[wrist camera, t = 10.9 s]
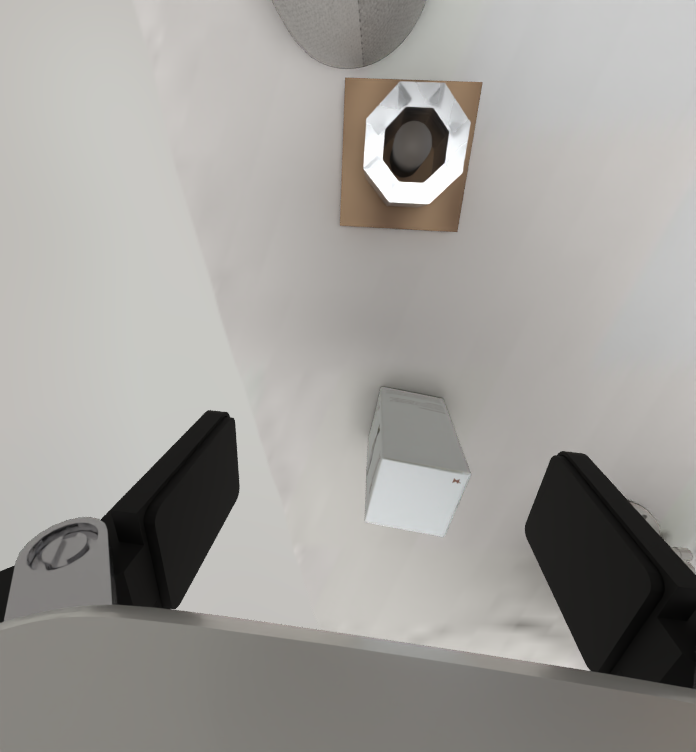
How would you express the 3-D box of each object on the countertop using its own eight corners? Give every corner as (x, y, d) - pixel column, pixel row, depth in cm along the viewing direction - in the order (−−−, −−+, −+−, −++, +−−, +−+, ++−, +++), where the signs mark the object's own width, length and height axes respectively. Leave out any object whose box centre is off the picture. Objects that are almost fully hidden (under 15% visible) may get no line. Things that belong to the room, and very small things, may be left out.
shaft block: (475, 92, 26) (513, 42, 19) (452, 231, 30) (476, 233, 23) (347, 87, 27) (336, 37, 20) (341, 225, 31) (331, 226, 24)
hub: (455, 113, 25) (477, 83, 20) (441, 208, 28) (457, 205, 23) (369, 110, 26) (368, 79, 20) (364, 205, 28) (361, 200, 23)
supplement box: (379, 384, 37) (381, 455, 26) (445, 397, 37) (476, 475, 26) (365, 438, 40) (361, 523, 29) (426, 450, 40) (446, 540, 29)
